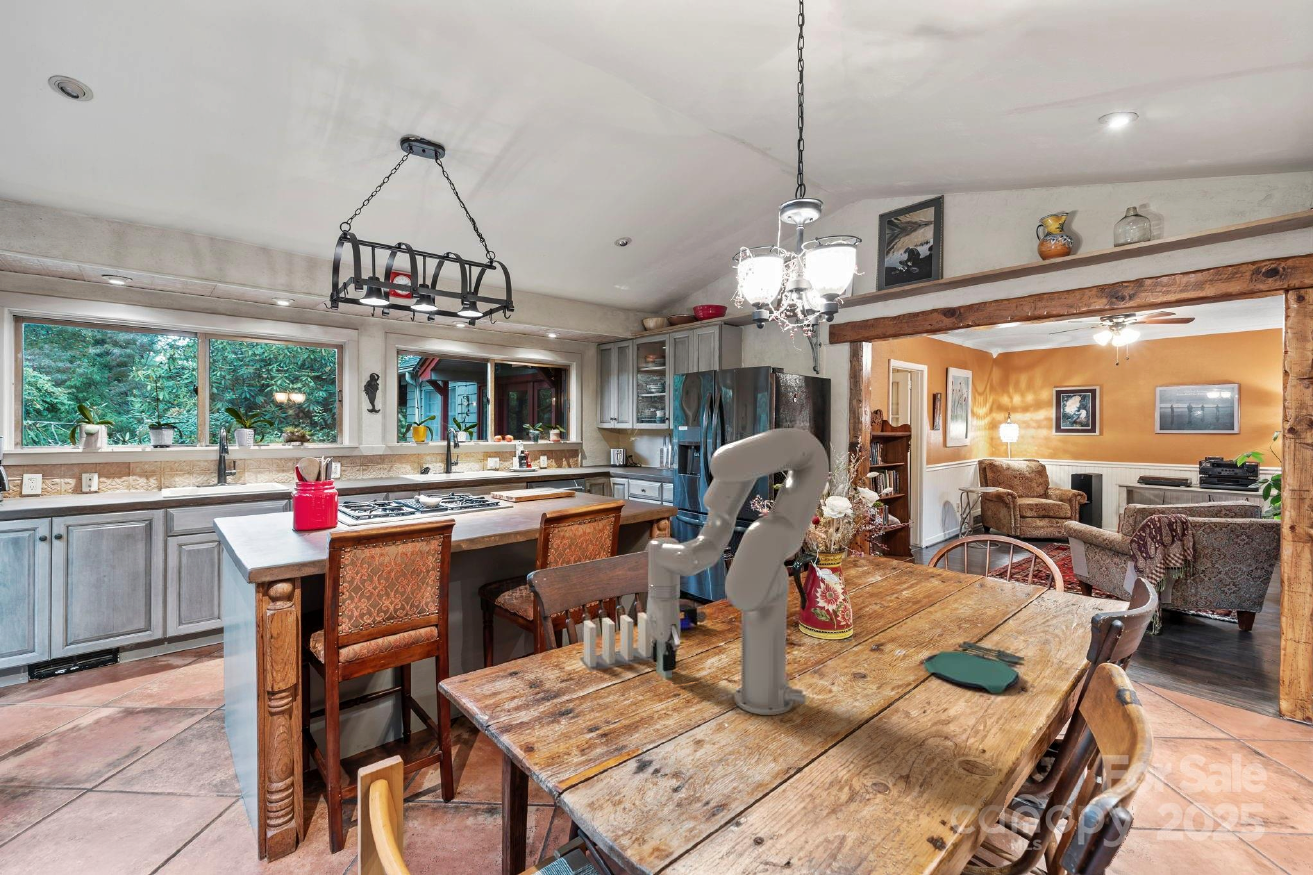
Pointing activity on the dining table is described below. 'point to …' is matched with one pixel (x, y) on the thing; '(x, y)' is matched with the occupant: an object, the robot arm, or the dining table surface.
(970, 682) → the cutlery set
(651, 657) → the mat
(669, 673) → the tile
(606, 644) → the ivory tile
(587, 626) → the ivory tile
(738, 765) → the dining table surface
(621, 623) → the ivory tile
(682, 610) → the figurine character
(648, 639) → the ivory tile
